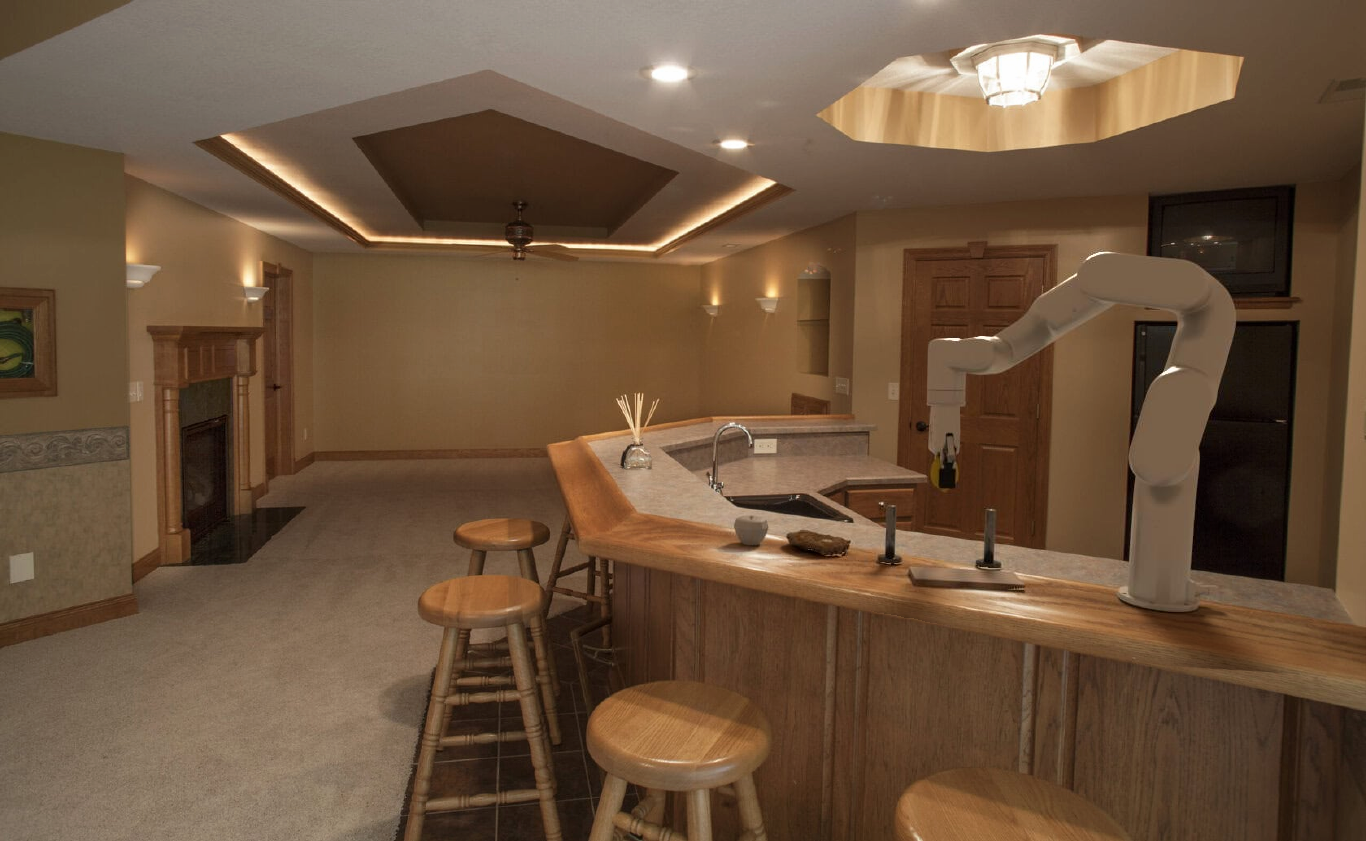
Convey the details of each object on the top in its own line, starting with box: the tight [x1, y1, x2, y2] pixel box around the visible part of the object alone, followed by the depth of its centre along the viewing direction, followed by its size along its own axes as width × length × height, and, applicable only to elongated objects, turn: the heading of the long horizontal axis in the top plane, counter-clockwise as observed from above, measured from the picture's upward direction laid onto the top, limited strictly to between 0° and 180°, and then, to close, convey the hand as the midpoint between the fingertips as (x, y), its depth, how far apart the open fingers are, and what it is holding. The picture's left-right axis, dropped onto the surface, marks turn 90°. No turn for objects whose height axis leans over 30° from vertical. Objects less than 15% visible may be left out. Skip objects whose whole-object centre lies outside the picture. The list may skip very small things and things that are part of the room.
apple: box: [733, 514, 769, 546], centre depth 185 cm, size 8×8×7 cm
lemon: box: [930, 457, 960, 493], centre depth 167 cm, size 6×6×8 cm
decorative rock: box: [785, 529, 852, 557], centre depth 180 cm, size 11×4×15 cm
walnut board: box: [908, 565, 1026, 590], centre depth 157 cm, size 20×9×1 cm, turn 82°
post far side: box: [877, 504, 903, 564], centre depth 170 cm, size 5×5×12 cm
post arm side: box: [975, 508, 1002, 569], centre depth 167 cm, size 5×5×12 cm
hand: (944, 485), depth 167 cm, fingers closed on lemon, 5 cm apart
